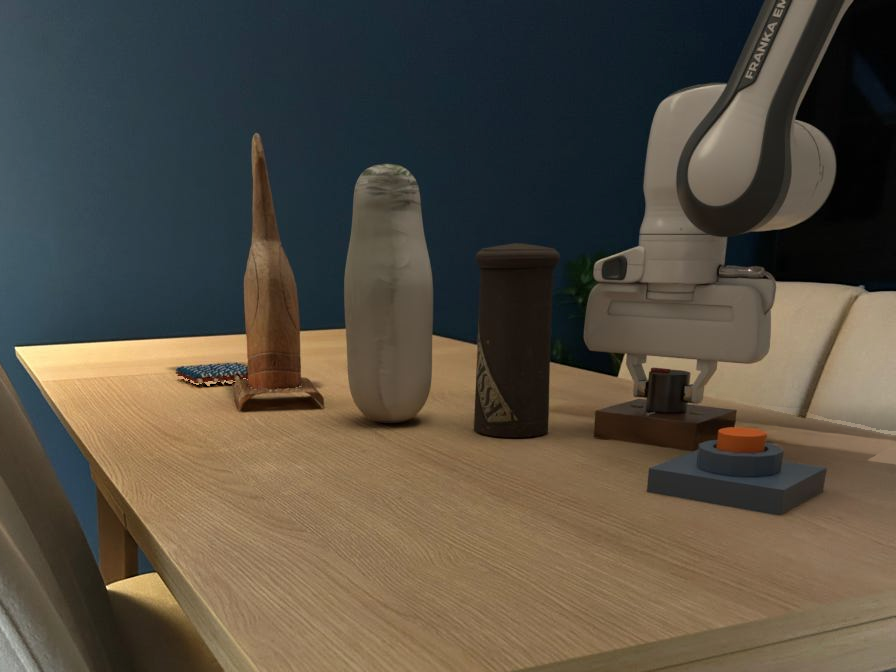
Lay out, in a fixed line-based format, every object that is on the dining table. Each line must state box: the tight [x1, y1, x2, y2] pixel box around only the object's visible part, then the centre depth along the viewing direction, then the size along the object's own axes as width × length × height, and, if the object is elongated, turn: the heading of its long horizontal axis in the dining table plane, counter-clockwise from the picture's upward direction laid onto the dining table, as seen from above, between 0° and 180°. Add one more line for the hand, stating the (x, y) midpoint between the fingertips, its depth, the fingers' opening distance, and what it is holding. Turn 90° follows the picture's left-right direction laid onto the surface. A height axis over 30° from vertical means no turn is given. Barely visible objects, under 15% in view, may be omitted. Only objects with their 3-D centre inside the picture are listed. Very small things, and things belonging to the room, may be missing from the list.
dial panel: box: [593, 398, 738, 452], centre depth 107 cm, size 12×10×3 cm
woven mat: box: [175, 361, 248, 384], centre depth 147 cm, size 10×11×2 cm
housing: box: [646, 440, 828, 516], centre depth 85 cm, size 12×10×4 cm
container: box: [473, 242, 561, 438], centre depth 107 cm, size 9×9×20 cm
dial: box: [646, 367, 692, 413], centre depth 106 cm, size 4×4×4 cm
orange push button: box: [716, 426, 768, 453], centre depth 84 cm, size 4×4×2 cm
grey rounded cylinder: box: [343, 163, 434, 424], centre depth 112 cm, size 10×10×28 cm
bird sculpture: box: [232, 132, 325, 411], centre depth 123 cm, size 11×12×32 cm
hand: (667, 399), depth 106 cm, fingers open, 5 cm apart
